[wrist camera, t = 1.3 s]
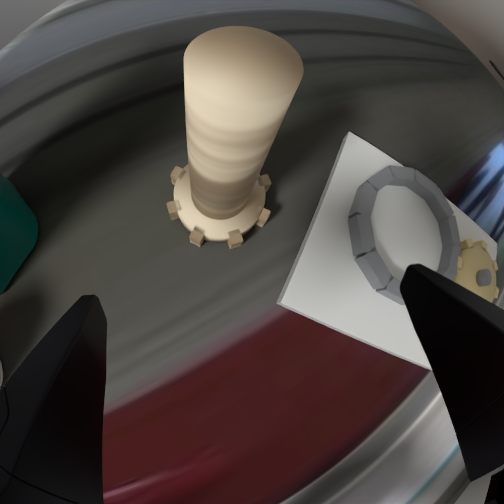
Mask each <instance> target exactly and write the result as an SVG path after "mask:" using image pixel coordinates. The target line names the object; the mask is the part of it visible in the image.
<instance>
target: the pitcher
mask: <svg viewBox="0 0 504 504" xmlns="http://www.w3.org/2000/svg"><path fill="white" fill-rule="evenodd" d="M38 228H39V227H38V223H37V219H36V216H35V215H34V214H33V212H32V211H31V210H30V208H29V207H28V205H27V204H26V203H25V201H24V200H23V198H22V197H21V195H20V194H19V192H18V191H17V189H16V188H15V186H14V185H13V183H12V182H11V181H9V180H8V179H7V178H6V177H4V176H3V175H2V174H1V173H0V294H2V293H3V292H4V290H5V289H6V287H7V286H8V284H9V282H10V281H11V279H12V278H13V276H14V275H15V273H16V272H17V271H18V269H19V268H20V266H21V265H22V263H23V262H24V261H25V259H26V258H27V256H28V255H29V254H30V252H31V251H32V250H33V248H34V247H35V244H36V241H37V238H38Z"/></svg>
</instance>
